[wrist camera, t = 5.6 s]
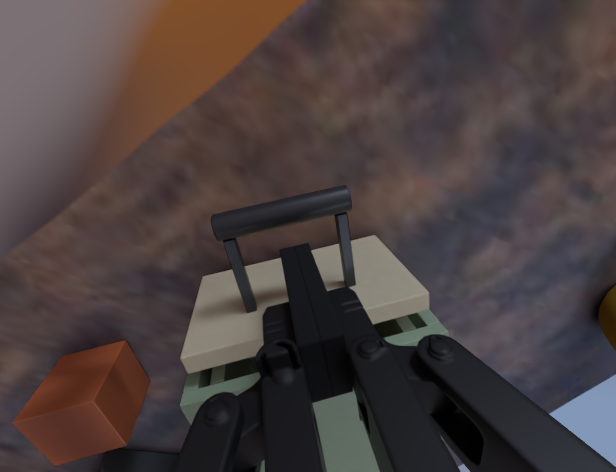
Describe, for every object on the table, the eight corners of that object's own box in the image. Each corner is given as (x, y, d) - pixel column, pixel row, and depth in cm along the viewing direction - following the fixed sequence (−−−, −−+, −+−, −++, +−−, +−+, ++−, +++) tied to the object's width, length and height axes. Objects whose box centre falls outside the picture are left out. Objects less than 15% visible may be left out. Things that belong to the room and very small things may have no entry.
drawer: (171, 198, 19) (125, 253, 12) (368, 155, 20) (431, 183, 13) (262, 427, 30) (265, 527, 23) (387, 390, 31) (428, 475, 24)
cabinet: (205, 294, 23) (179, 406, 15) (379, 251, 25) (448, 331, 16) (263, 438, 32) (268, 563, 23) (390, 401, 33) (440, 506, 24)
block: (92, 396, 26) (54, 466, 21) (61, 355, 23) (10, 423, 18) (150, 380, 26) (127, 446, 21) (125, 339, 24) (93, 401, 19)
